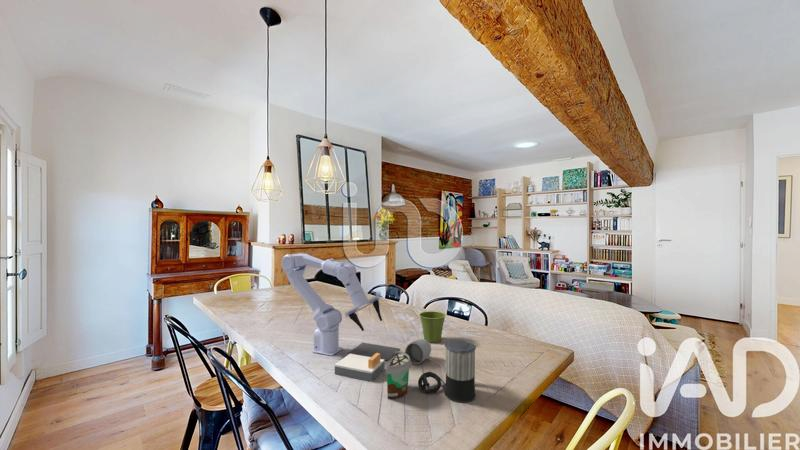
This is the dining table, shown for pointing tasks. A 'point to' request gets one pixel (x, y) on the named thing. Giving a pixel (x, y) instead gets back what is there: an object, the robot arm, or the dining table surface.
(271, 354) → the dining table surface
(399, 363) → the food container
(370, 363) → the lid
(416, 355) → the ceramic mug
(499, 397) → the dining table surface
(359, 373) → the dark grey tray
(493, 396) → the dining table surface
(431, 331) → the plant pot
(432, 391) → the milk frother
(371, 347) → the mat
